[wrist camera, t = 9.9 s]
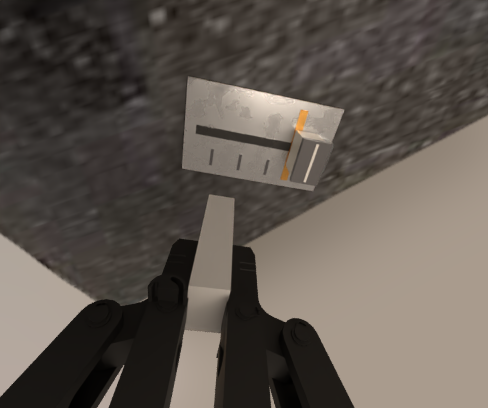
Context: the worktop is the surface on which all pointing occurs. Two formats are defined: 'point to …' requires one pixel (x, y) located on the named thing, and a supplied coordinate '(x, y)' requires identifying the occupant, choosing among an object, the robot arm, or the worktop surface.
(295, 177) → the fader
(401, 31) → the worktop surface
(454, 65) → the worktop surface
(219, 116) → the panel
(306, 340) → the robot arm
